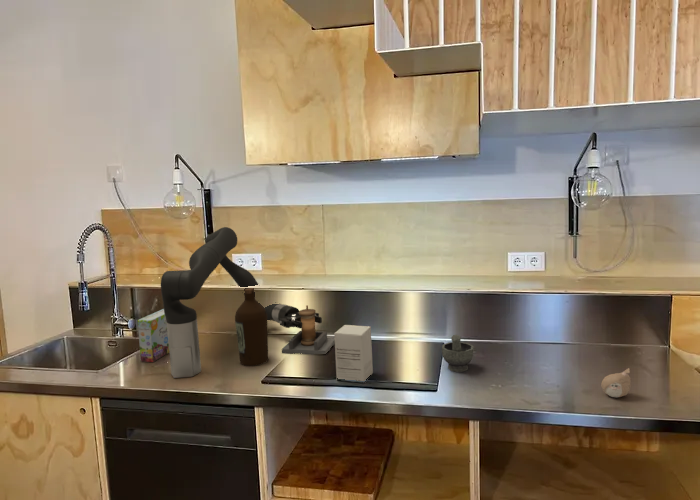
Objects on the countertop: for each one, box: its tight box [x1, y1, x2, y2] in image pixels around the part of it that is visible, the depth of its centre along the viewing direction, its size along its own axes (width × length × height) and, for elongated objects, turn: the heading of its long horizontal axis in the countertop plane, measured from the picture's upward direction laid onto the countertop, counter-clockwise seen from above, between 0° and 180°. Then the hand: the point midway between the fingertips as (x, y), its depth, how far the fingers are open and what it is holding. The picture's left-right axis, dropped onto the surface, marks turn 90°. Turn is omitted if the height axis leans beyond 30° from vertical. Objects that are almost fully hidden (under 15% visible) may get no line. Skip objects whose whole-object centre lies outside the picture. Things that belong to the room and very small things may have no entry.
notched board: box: [281, 330, 335, 355], centre depth 184 cm, size 16×14×4 cm
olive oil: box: [234, 288, 269, 367], centre depth 171 cm, size 11×11×25 cm
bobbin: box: [299, 305, 317, 346], centre depth 183 cm, size 6×6×14 cm
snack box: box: [137, 308, 169, 363], centre depth 185 cm, size 21×6×15 cm, turn 168°
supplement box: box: [333, 324, 374, 381], centre depth 154 cm, size 9×9×15 cm
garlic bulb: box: [600, 367, 632, 398], centre depth 134 cm, size 7×6×8 cm
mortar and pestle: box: [441, 334, 475, 373], centre depth 157 cm, size 11×9×12 cm
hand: (311, 322), depth 181 cm, fingers open, 8 cm apart
